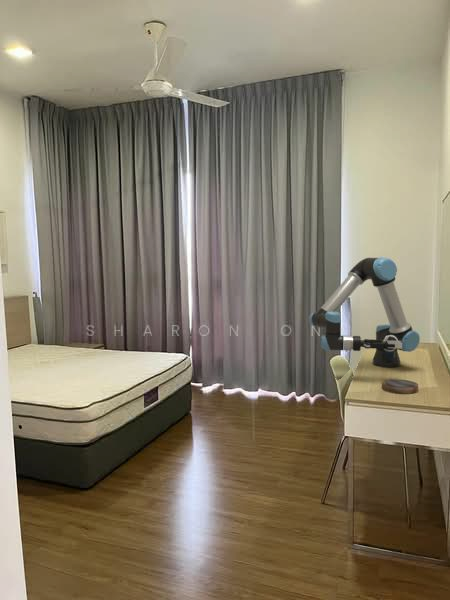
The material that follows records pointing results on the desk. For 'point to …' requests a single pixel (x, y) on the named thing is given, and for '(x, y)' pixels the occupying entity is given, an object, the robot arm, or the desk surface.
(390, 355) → the watch
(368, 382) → the desk surface
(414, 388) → the plinth
